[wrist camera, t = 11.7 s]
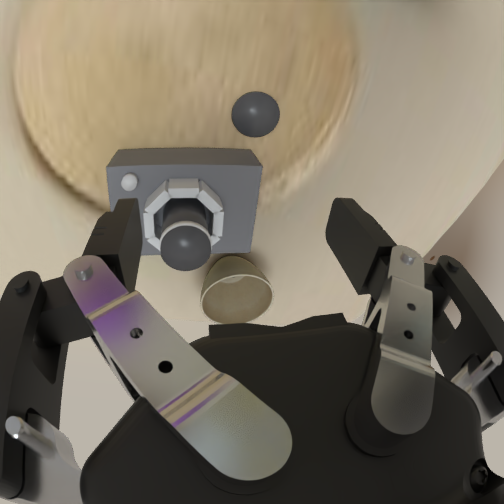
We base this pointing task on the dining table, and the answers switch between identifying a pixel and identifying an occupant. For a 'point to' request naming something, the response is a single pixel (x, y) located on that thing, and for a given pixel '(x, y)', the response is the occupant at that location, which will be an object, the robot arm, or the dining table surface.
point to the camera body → (190, 190)
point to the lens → (185, 234)
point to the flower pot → (235, 292)
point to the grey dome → (255, 114)
